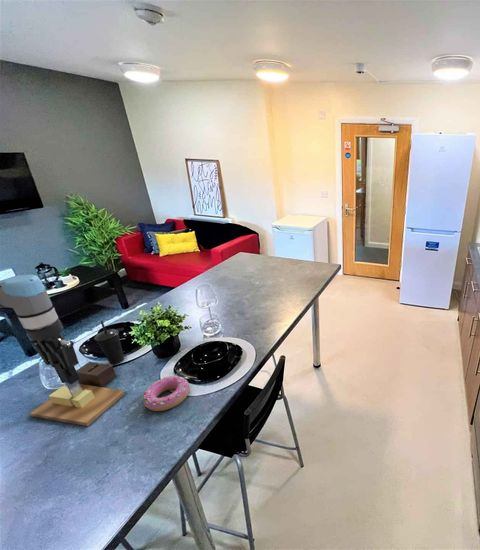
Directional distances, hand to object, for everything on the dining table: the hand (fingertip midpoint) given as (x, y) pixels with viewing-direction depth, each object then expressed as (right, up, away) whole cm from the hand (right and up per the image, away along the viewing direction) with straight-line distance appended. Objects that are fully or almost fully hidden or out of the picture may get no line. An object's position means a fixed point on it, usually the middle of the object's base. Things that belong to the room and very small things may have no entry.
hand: (71, 380), depth 99 cm
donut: (+27, -10, +9) cm, 30 cm away
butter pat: (+1, -9, +4) cm, 10 cm away
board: (-1, -10, +5) cm, 12 cm away
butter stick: (-5, -9, +5) cm, 11 cm away
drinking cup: (-6, -1, +26) cm, 26 cm away
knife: (0, -9, +4) cm, 9 cm away
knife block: (-5, -5, +15) cm, 17 cm away
